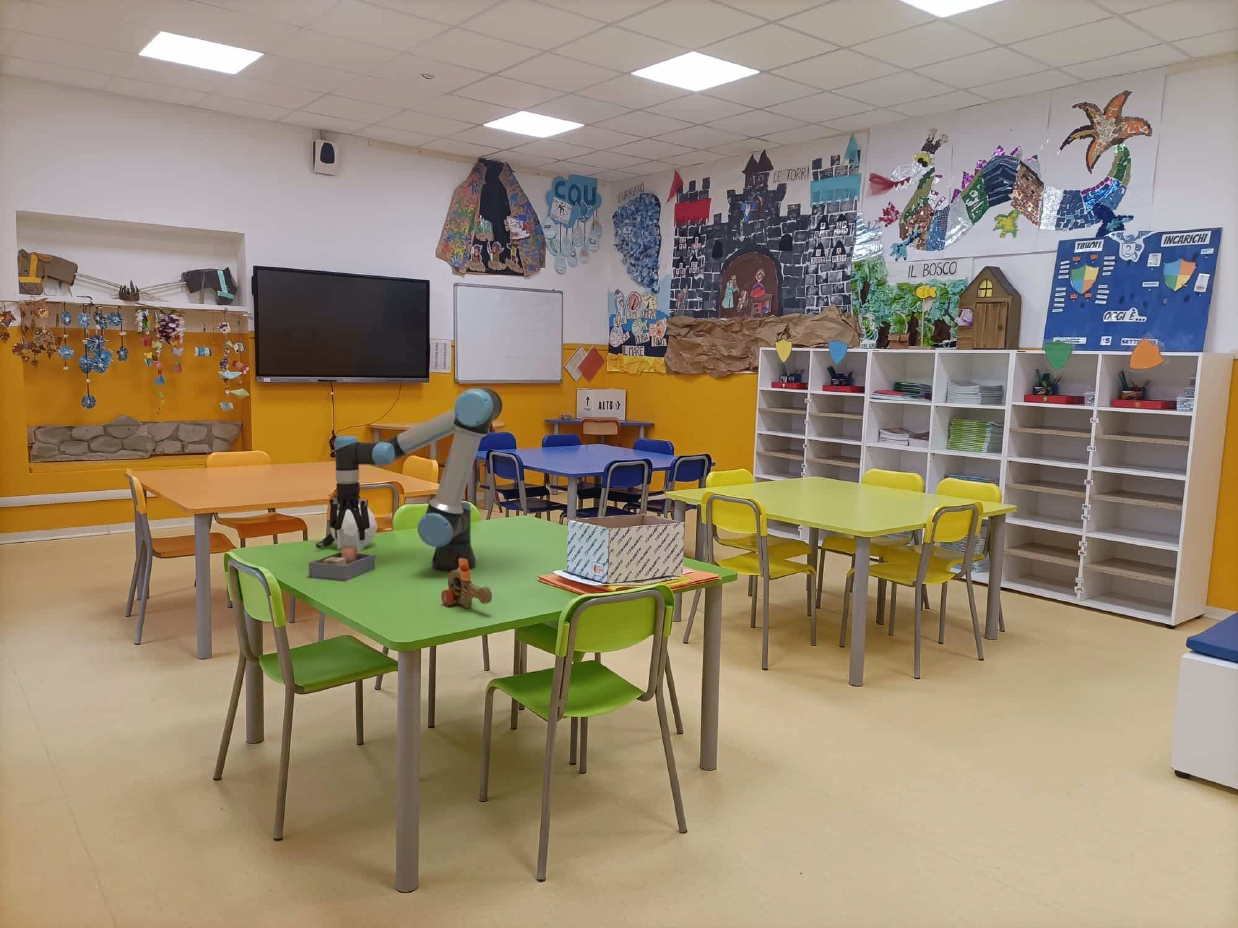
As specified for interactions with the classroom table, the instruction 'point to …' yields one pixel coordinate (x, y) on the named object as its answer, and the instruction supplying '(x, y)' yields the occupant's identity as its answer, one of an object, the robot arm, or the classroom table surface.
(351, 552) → the red cylinder
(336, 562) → the wooden cube
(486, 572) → the classroom table surface
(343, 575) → the tote
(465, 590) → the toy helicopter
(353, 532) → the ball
